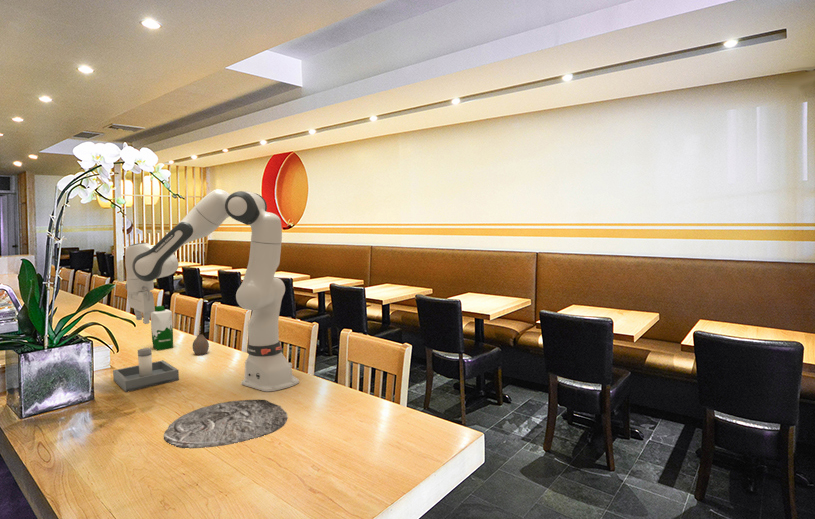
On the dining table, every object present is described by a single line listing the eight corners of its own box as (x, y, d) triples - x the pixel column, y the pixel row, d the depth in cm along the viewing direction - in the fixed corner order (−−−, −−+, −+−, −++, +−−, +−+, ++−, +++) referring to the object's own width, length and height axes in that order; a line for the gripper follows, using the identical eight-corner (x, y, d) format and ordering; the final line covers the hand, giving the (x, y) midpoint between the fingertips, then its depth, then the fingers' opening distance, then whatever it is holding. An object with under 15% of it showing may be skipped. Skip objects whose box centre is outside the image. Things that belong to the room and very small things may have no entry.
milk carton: (170, 344, 236) (167, 304, 234) (175, 347, 229) (173, 307, 227) (150, 347, 230) (148, 307, 228) (156, 351, 223) (153, 309, 222)
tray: (178, 379, 182) (178, 369, 182) (126, 392, 170) (125, 381, 170) (163, 369, 195) (163, 360, 195) (113, 380, 183) (112, 370, 183)
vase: (205, 355, 215) (204, 336, 214) (190, 355, 215) (189, 337, 214) (211, 351, 222) (210, 333, 221) (197, 351, 222) (196, 333, 221)
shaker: (154, 377, 183) (152, 349, 182) (141, 380, 179) (139, 352, 178) (150, 374, 186) (149, 347, 185) (137, 377, 183) (136, 349, 182)
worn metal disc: (147, 424, 143) (147, 423, 143) (255, 393, 168) (255, 392, 168) (187, 463, 120) (187, 462, 120) (307, 421, 144) (307, 420, 144)
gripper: (158, 287, 174) (160, 324, 175) (141, 282, 189) (144, 316, 190) (139, 289, 170) (141, 327, 171) (123, 284, 185) (126, 319, 186)
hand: (142, 321), depth 181 cm, fingers open, 8 cm apart
